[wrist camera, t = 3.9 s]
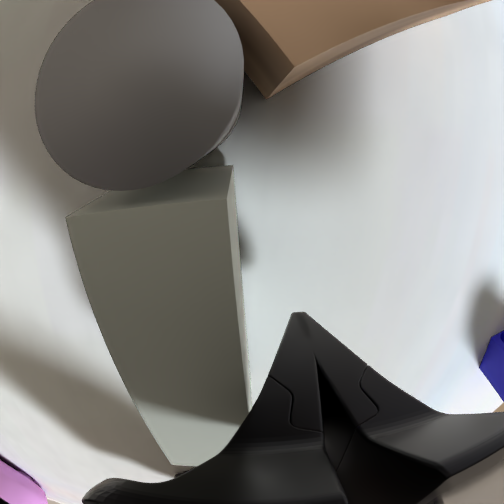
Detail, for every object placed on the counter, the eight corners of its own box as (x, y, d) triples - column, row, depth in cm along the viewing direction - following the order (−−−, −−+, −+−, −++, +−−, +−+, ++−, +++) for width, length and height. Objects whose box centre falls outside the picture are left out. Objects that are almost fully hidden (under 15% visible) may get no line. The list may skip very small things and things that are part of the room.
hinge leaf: (121, 59, 7) (38, 21, 3) (238, 40, 7) (237, -34, 3) (177, 377, 12) (161, 463, 8) (259, 374, 12) (266, 465, 8)
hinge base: (170, 182, 9) (108, 234, 5) (107, 99, 8) (10, 88, 3) (450, 24, 7) (534, 2, 2) (397, -47, 5) (461, -94, 1)
